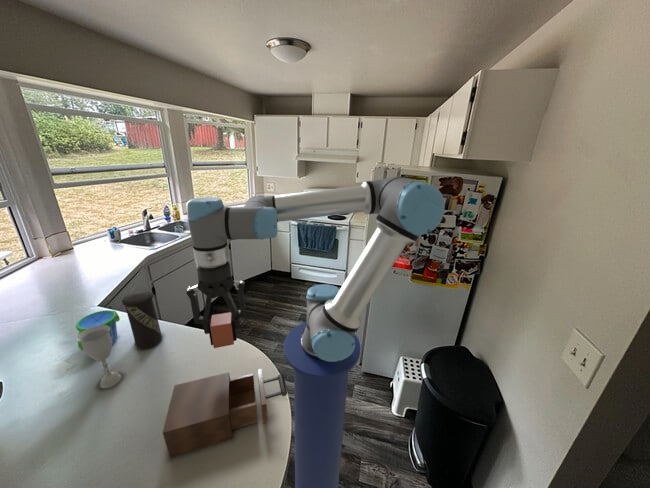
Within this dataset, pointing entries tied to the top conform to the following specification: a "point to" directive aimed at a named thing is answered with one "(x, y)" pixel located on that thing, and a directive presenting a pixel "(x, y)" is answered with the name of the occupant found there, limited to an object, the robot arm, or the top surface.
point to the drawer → (249, 399)
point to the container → (142, 318)
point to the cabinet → (198, 415)
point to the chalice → (99, 351)
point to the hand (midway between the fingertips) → (224, 339)
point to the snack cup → (99, 323)
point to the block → (221, 330)
